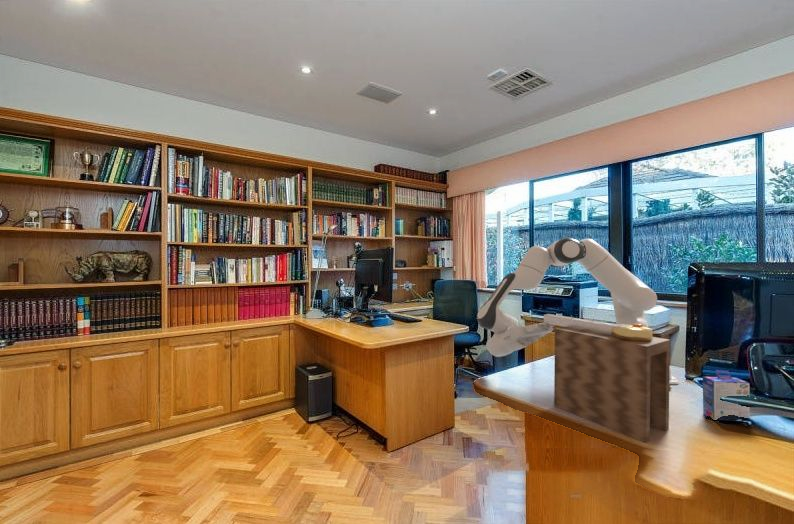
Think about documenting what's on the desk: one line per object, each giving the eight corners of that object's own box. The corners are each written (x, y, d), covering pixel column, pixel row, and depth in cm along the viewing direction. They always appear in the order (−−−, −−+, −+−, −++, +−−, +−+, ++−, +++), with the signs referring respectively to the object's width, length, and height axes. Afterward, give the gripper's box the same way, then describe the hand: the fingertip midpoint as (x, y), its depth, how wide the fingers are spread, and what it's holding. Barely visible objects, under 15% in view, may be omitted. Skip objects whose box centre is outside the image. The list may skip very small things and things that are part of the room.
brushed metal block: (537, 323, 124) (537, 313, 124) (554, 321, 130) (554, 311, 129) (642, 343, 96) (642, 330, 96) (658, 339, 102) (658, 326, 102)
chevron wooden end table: (554, 406, 117) (554, 328, 116) (578, 397, 124) (578, 324, 124) (646, 442, 94) (647, 346, 94) (668, 429, 101) (669, 339, 101)
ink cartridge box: (736, 415, 110) (736, 369, 110) (751, 423, 105) (752, 375, 104) (701, 413, 112) (701, 368, 111) (714, 421, 106) (714, 374, 106)
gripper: (497, 332, 133) (523, 318, 123) (531, 326, 144) (558, 313, 134) (503, 348, 131) (531, 336, 120) (538, 341, 141) (566, 329, 131)
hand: (546, 324), depth 127 cm, fingers open, 8 cm apart
